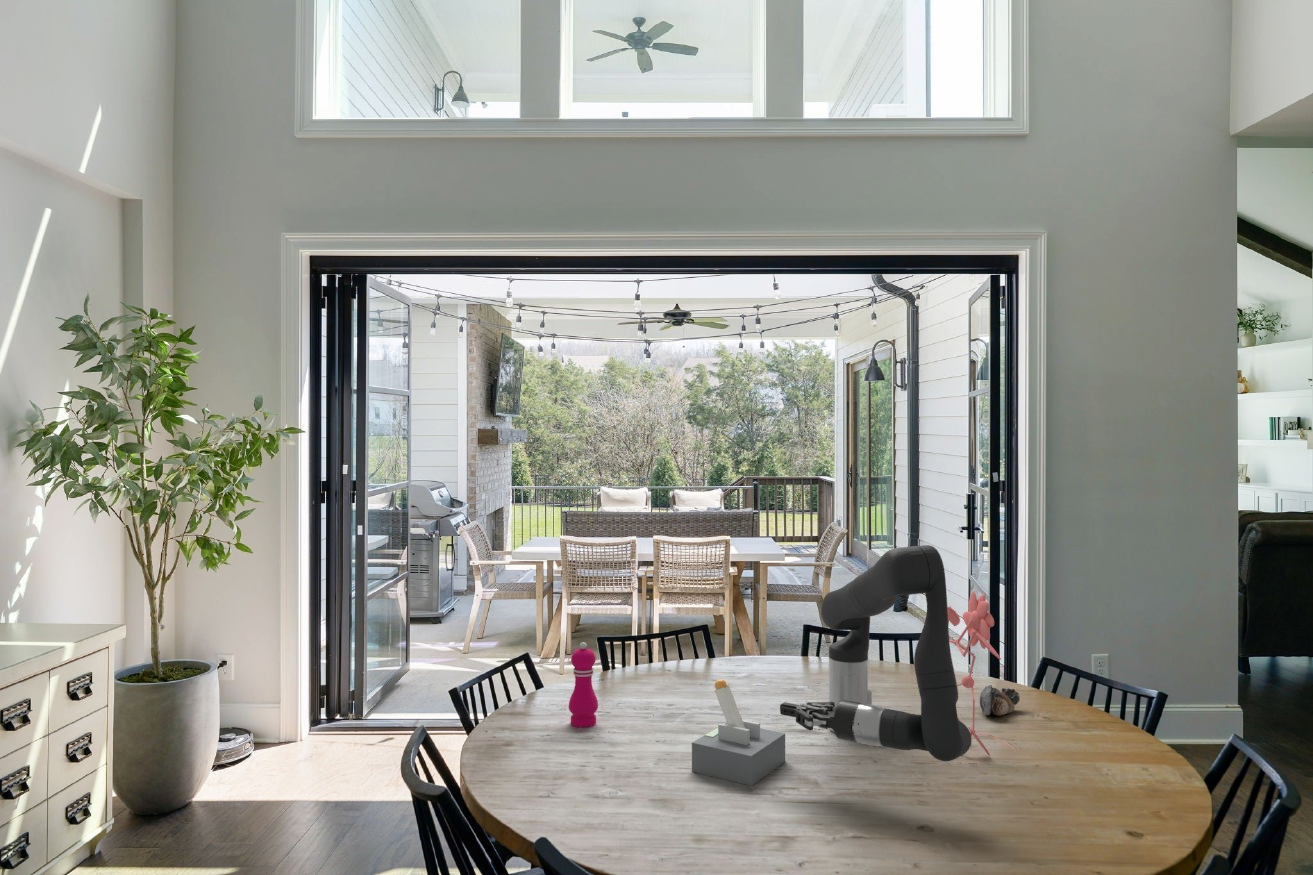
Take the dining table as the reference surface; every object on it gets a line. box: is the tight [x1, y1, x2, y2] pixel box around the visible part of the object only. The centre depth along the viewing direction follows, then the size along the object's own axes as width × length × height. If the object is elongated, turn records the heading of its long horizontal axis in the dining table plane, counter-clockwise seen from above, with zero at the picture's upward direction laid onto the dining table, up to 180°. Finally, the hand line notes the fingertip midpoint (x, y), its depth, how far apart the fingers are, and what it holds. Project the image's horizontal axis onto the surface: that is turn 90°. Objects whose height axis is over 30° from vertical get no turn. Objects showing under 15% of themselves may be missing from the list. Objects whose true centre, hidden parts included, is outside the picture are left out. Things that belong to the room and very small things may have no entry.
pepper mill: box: [568, 641, 599, 729], centre depth 210 cm, size 7×7×20 cm
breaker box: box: [691, 719, 786, 787], centre depth 182 cm, size 16×14×9 cm
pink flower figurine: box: [947, 591, 1016, 765], centre depth 194 cm, size 15×26×35 cm, turn 5°
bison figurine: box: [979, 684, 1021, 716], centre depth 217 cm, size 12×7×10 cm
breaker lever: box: [714, 678, 746, 729], centre depth 184 cm, size 3×3×13 cm
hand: (781, 708), depth 177 cm, fingers closed
